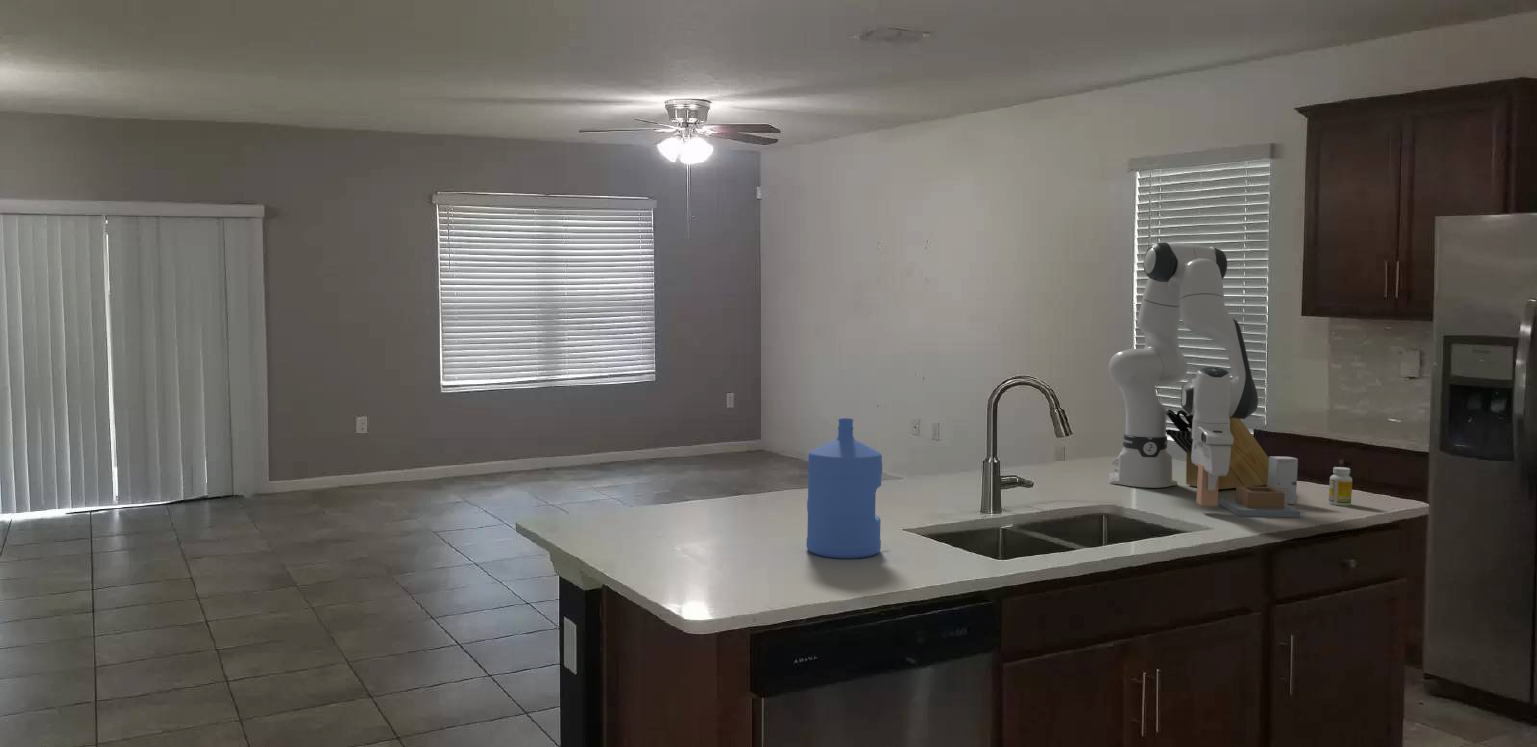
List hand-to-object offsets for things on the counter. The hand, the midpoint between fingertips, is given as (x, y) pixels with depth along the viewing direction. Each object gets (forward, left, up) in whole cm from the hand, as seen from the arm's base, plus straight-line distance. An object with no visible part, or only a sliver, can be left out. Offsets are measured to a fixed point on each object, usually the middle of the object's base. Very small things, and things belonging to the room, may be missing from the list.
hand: (1207, 487), depth 297 cm
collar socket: (-5, +14, -6) cm, 16 cm away
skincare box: (-18, +24, -7) cm, 31 cm away
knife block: (-41, +16, -7) cm, 44 cm away
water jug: (+54, -91, -7) cm, 106 cm away
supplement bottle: (-18, +39, -7) cm, 44 cm away
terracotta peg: (0, 0, -4) cm, 4 cm away
